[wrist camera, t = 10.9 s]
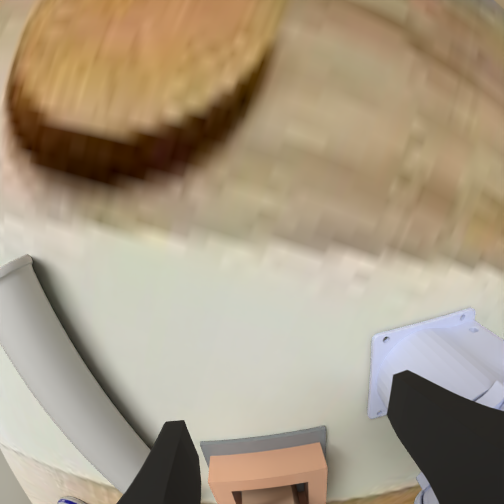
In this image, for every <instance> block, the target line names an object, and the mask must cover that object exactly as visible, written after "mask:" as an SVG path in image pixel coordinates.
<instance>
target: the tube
mask: <svg viewBox="0 0 504 504" xmlns="http://www.w3.org/2000/svg"><path fill="white" fill-rule="evenodd" d="M32 263H33V261H32V258H31V256H30V255H28V254H27V255H24V256H22V257H20V258H17V259H15V260H13V261H10V262H9V263H7V264H5V265H3V266H2V267H0V344H1V346H2V347H3V349H4V351H5V352H6V354H7V356H8V357H9V359H10V361H11V362H12V364H13V366H14V367H15V369H16V370H17V372H18V373H19V375H20V376H21V378H22V379H23V381H24V382H25V384H26V385H27V387H28V388H29V390H30V391H31V392H32V394H33V395H34V397H35V398H36V399H37V401H38V402H39V403H40V405H41V406H42V407H43V409H44V410H45V411H46V413H47V414H48V415H49V416H50V418H51V419H52V420H53V421H54V423H55V424H56V425H57V426H58V428H59V429H60V430H61V431H62V432H63V434H64V435H65V436H66V437H67V438H68V439H69V440H70V442H71V443H72V444H73V445H74V446H75V447H76V448H77V449H78V450H79V452H80V453H81V454H82V455H83V456H84V457H85V458H86V459H87V460H88V461H89V462H90V463H91V464H92V465H93V466H94V467H95V468H96V469H97V470H98V471H99V472H100V473H101V474H102V475H103V476H104V477H105V478H106V479H107V480H108V481H109V482H110V483H111V484H113V485H114V486H115V487H116V488H117V489H118V490H119V491H120V492H121V493H123V494H124V493H125V492H126V490H127V489H128V487H129V486H130V484H131V483H132V481H133V480H134V478H135V477H136V475H137V474H138V472H139V471H140V469H141V467H142V465H143V464H144V462H145V460H146V458H147V457H148V455H149V453H150V451H151V450H150V448H149V447H148V446H147V445H146V444H145V443H144V442H143V440H142V439H141V438H140V437H139V436H138V435H137V433H136V432H135V431H134V430H133V429H132V427H131V426H130V425H129V424H128V422H127V421H126V420H125V419H124V417H123V416H122V415H121V413H120V412H119V411H118V410H117V408H116V407H115V406H114V404H113V403H112V402H111V400H110V399H109V398H108V396H107V395H106V393H105V392H104V391H103V389H102V388H101V386H100V385H99V384H98V382H97V381H96V379H95V378H94V376H93V375H92V373H91V372H90V370H89V369H88V367H87V366H86V364H85V363H84V361H83V360H82V358H81V357H80V355H79V353H78V352H77V350H76V349H75V347H74V345H73V344H72V342H71V340H70V339H69V337H68V335H67V333H66V332H65V330H64V328H63V327H62V325H61V323H60V321H59V319H58V318H57V316H56V314H55V312H54V310H53V308H52V306H51V305H50V303H49V301H48V299H47V297H46V295H45V293H44V291H43V289H42V287H41V285H40V283H39V280H38V278H37V276H36V274H35V272H34V270H33V267H32Z"/></svg>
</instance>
